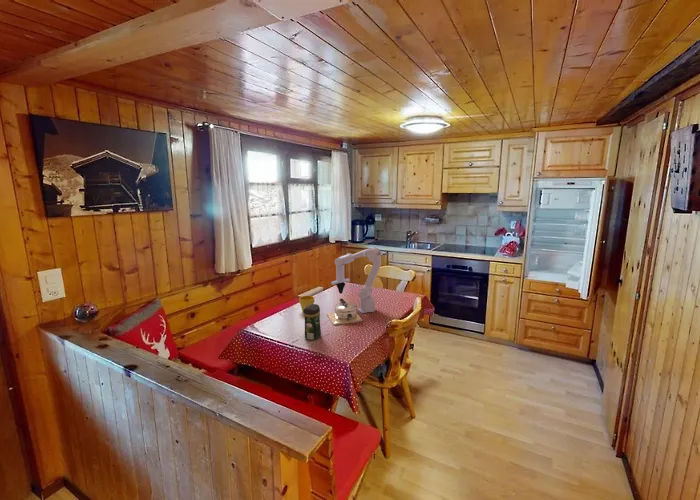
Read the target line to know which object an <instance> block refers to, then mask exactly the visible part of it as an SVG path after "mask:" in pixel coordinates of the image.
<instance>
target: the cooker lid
mask: <svg viewBox="0 0 700 500" xmlns="http://www.w3.org/2000/svg"><path fill="white" fill-rule="evenodd" d="M333 307H334V308H333V309H334V311H335V310H336V311H339V312H351V311H355V310H356V309H357V310H358V305H357V304H355V303H353V302H346V301H345V300H344V298H339V302H338V303H336V304H335V305H334V306H333Z"/></svg>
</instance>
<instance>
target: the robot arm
mask: <svg viewBox="0 0 700 500" xmlns="http://www.w3.org/2000/svg"><path fill="white" fill-rule="evenodd" d="M381 254H382V252H381V251H380V249H379V248H378V247H376V246H375V247H371V248H370V247H369V248H367V249H363V250H360V251H358V252H356V253H351V252H350V253H349V252H348V253H346V254H345V255H340V256H338V257H337V258H335V259H334V264H335V275H336V276H335V279H336V280H333V281H331V282H330V284H331V285H332V286H334V285H335V286H336V287H337V290H338V293H339V294H343V291H344V289H345V286H346V283H347V282H350V281H351V279H350V278H348V277H347V278H345V277H346V276H345V265H346V264H347V265H348V264H349V263H352V262H354V260H355V259H359V258H361V257H365V258H367V259H368V260H369V261H370V262H371V263H372V266H371V269H369V273H368V274H367V275H368V276H367V278H366V280H365V283H364V285H363V287H362V289H360V291H359V292H358V297H359V308H358V311H359V312H360V313H361V314H365V313H374V312H376V310H375V305H376V304H375V303H376V302H375V299H374V297H373V296H371V295H372V293H373V291H372V290H373V285H374V282H375V280H376V278H377V276H378V274H379V270H380V269H381V266H382V258H381Z"/></svg>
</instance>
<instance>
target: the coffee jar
mask: <svg viewBox="0 0 700 500" xmlns="http://www.w3.org/2000/svg"><path fill="white" fill-rule="evenodd" d="M320 315H321V307H320V305H318V304H316V303H314V304H311V305H309V306H307V307H306V308H304V313H303V316H304V317H303V318H304V339H306V340H307V341H316V340H317V339H318V338H320V337H321V335H322V331H321V330H322V329H321V319H320V318H321V317H320Z"/></svg>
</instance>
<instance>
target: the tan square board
mask: <svg viewBox="0 0 700 500" xmlns="http://www.w3.org/2000/svg"><path fill="white" fill-rule="evenodd" d="M357 310H358V308H357V309H356V310H355V311H351V312H339V311H336V310H335V309H334V312H329V313H326V316H327V318H328V319H329V321H330V323H331V324H332V325H333V326H337V325H338V326H339V325H346V324H354V323H361V322H363V318H361V316H360V315H359V314H358V312H357Z"/></svg>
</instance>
